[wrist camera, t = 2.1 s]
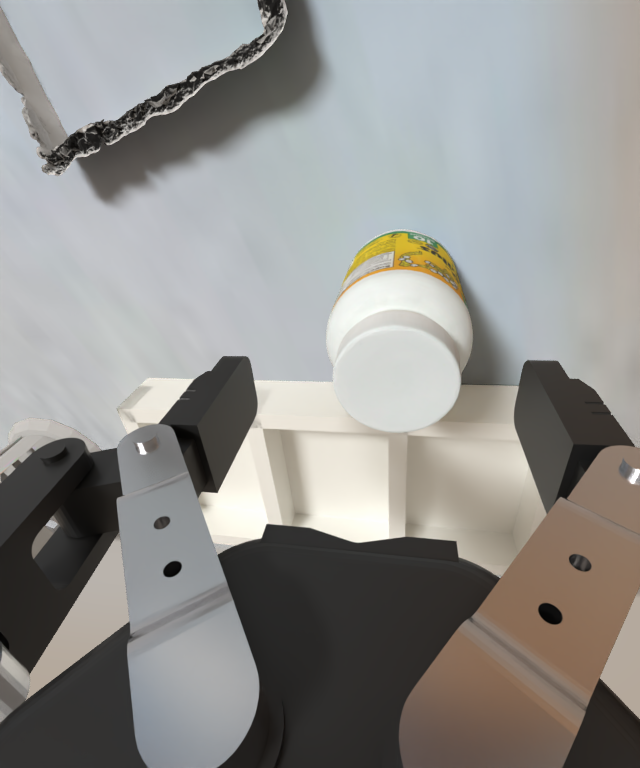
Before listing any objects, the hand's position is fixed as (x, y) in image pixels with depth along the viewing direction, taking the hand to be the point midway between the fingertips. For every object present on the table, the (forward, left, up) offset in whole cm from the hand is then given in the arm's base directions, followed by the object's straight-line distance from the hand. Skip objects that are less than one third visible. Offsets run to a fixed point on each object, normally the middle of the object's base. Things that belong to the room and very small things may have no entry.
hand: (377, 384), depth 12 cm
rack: (+4, +12, -10) cm, 16 cm away
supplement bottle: (0, 0, -10) cm, 10 cm away
